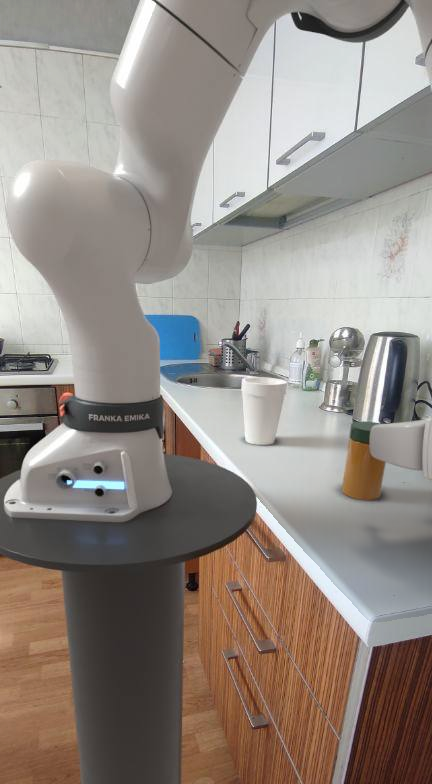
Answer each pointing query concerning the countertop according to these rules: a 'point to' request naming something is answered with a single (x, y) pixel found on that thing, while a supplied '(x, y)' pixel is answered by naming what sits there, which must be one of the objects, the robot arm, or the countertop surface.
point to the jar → (362, 472)
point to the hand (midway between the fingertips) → (409, 428)
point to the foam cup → (262, 408)
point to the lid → (361, 431)
